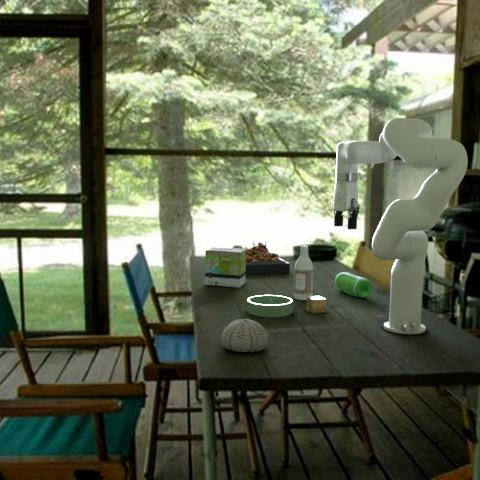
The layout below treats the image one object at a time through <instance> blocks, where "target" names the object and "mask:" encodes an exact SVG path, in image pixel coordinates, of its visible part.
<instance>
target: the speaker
mask: <svg viewBox="0 0 480 480" xmlns="http://www.w3.org/2000/svg"><path fill="white" fill-rule="evenodd" d="M334 285H335V286H336V287H337V289H339V290H340V291H341V292H343V293H345V294H347V295H350V296H352V297H357V298H361V299H363V298H367V297H369V296H370V295H371V293H372V292H373V285H372V283H371V282H370V281H369V280H368V279H367V278H365V277H362V276H358V275H356V274H353V273H350V272H348V271H347V272H346V271H343V272H339V273H337V274H336V275H335V278H334Z"/></svg>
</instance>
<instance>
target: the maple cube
mask: <svg viewBox="0 0 480 480" xmlns="http://www.w3.org/2000/svg"><path fill="white" fill-rule="evenodd" d="M305 305H306V311H307V312H310V313H311V314H319V313H327V298H325V297H323V296H321V295H314V296H313V295H312V297H307V300H306V304H305Z"/></svg>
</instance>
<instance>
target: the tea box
mask: <svg viewBox="0 0 480 480" xmlns="http://www.w3.org/2000/svg"><path fill="white" fill-rule="evenodd" d="M204 261H205V262H204V285H205V286H219V287H229V288H237V289H239V288H241V287H242V286H243V285H245V283H246V274H245V269H246V249H232V248H231V247H213V246H212V247H211V248H208V249H206V250H205V259H204Z"/></svg>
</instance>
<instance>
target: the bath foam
mask: <svg viewBox="0 0 480 480" xmlns="http://www.w3.org/2000/svg"><path fill="white" fill-rule="evenodd" d="M299 254H300V255H299V256H298V258H297V259H296V261H295V264H294V269H293V270H294V271H293V299H295V300H299V301H307V297H312V296H313V293H314V292H313V290H314V289H313V288H314V264H313V262H312V260H311V258H310V256H309V245H300V248H299Z"/></svg>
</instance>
